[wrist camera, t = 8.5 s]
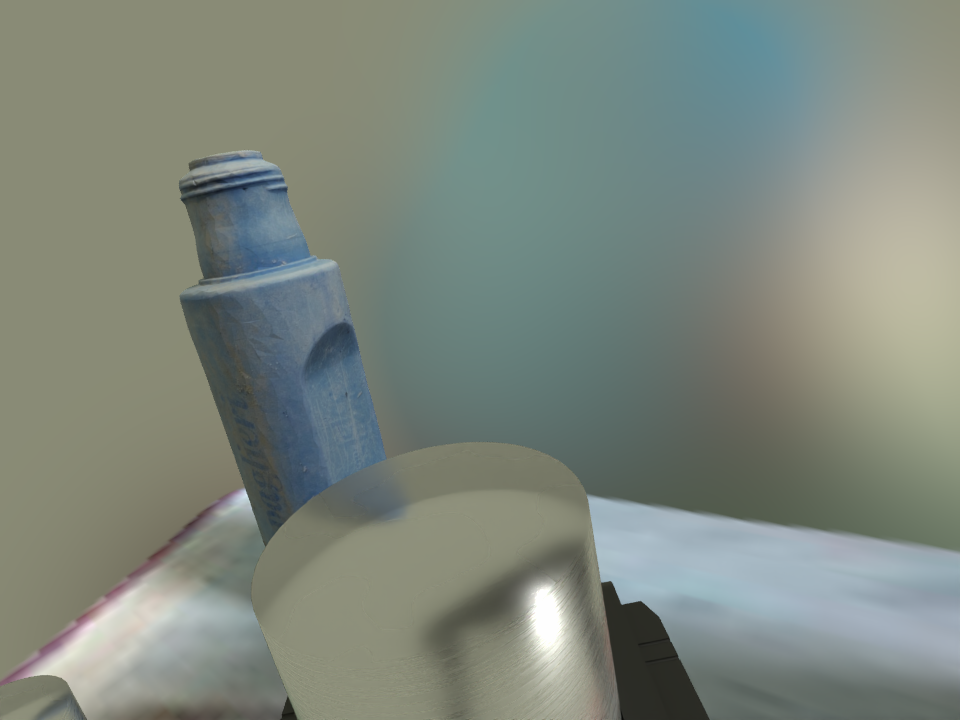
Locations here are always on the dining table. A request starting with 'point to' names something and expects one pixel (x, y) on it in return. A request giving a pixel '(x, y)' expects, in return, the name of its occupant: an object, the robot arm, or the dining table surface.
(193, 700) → the dining table surface
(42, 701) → the cylinder
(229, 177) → the bottle
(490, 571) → the billet
